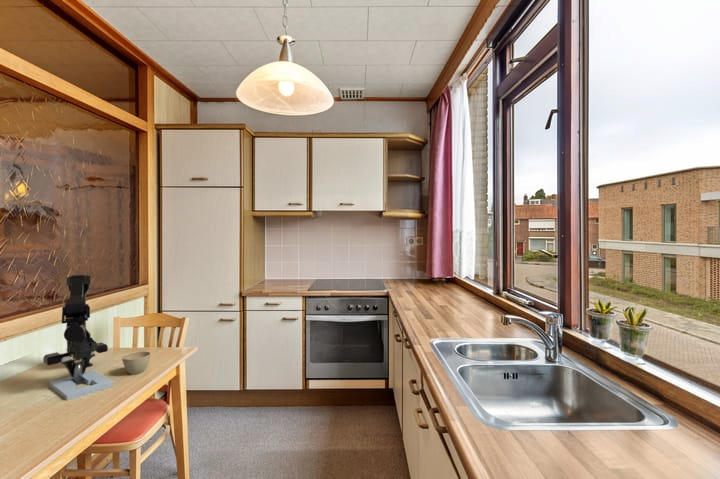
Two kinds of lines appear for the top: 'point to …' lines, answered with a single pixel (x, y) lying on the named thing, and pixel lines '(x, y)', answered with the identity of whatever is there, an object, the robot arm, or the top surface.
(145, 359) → the grey bowl
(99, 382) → the keyhole board
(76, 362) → the bolt
